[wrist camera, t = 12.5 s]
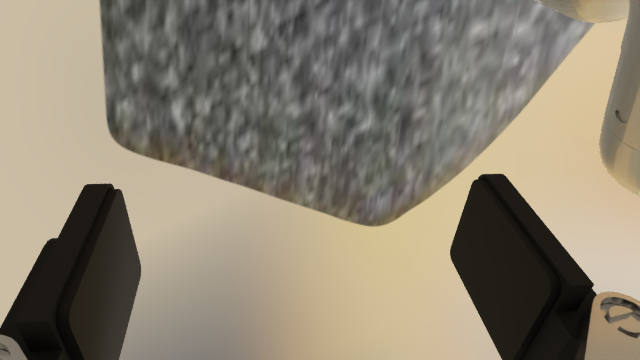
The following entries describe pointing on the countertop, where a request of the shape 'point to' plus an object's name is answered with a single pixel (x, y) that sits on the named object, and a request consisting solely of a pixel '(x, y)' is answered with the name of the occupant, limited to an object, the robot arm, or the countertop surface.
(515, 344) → the robot arm
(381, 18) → the countertop surface
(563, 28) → the countertop surface
